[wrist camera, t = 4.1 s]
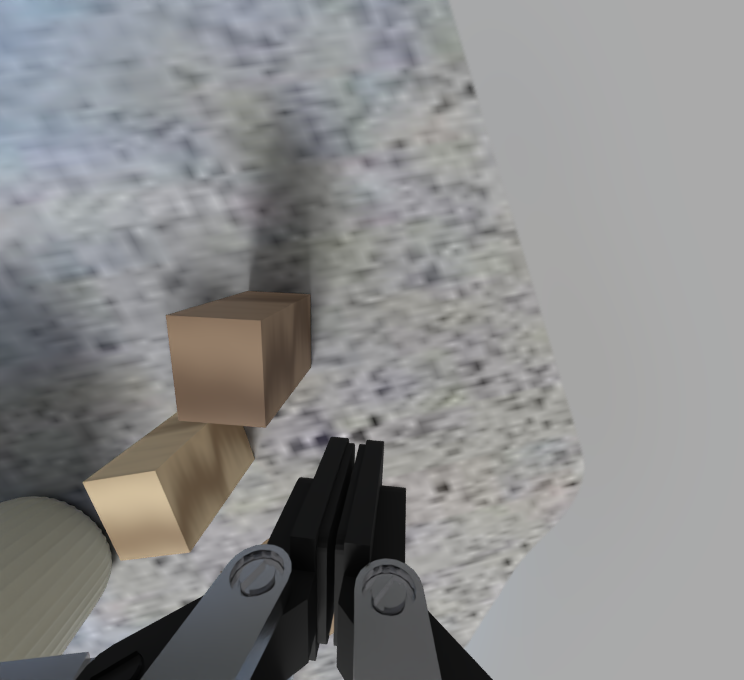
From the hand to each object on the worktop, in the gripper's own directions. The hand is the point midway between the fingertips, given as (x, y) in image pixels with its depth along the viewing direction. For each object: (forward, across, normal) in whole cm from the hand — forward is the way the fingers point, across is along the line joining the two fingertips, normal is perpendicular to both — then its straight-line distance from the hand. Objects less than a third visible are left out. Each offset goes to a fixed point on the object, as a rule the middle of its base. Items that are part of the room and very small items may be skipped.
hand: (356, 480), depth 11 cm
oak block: (+17, +15, +10) cm, 25 cm away
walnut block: (+17, +9, 0) cm, 19 cm away
